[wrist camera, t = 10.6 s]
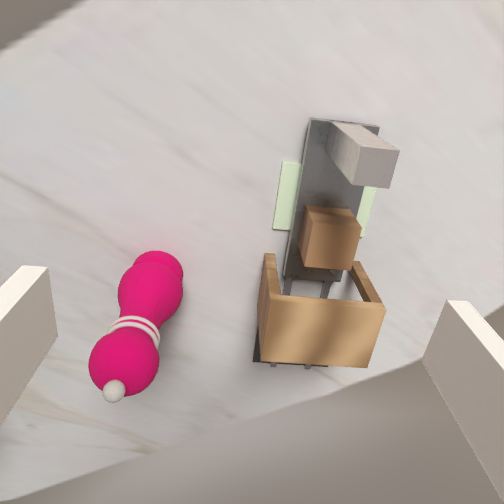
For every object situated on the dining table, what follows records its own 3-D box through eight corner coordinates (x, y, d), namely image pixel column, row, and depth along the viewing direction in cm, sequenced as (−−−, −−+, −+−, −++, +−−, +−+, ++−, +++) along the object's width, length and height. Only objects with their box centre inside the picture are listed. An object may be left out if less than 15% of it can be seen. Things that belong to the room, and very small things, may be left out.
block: (298, 245, 45) (304, 266, 41) (305, 205, 43) (313, 223, 39) (340, 249, 46) (350, 270, 41) (349, 209, 43) (362, 227, 39)
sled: (282, 272, 48) (295, 336, 38) (309, 117, 40) (335, 143, 29) (338, 276, 49) (365, 342, 38) (376, 125, 40) (425, 153, 30)
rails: (270, 364, 56) (270, 366, 56) (309, 140, 42) (310, 141, 41) (309, 366, 57) (310, 369, 56) (362, 146, 42) (363, 147, 42)
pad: (272, 227, 46) (272, 228, 46) (282, 161, 43) (282, 162, 42) (362, 236, 47) (363, 237, 47) (379, 171, 43) (380, 172, 43)
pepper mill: (194, 289, 50) (168, 421, 32) (141, 301, 51) (88, 436, 33) (176, 240, 47) (137, 357, 29) (119, 253, 47) (47, 376, 30)
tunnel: (257, 306, 52) (260, 361, 43) (264, 253, 48) (270, 300, 39) (345, 313, 52) (367, 368, 43) (359, 261, 49) (386, 309, 40)
